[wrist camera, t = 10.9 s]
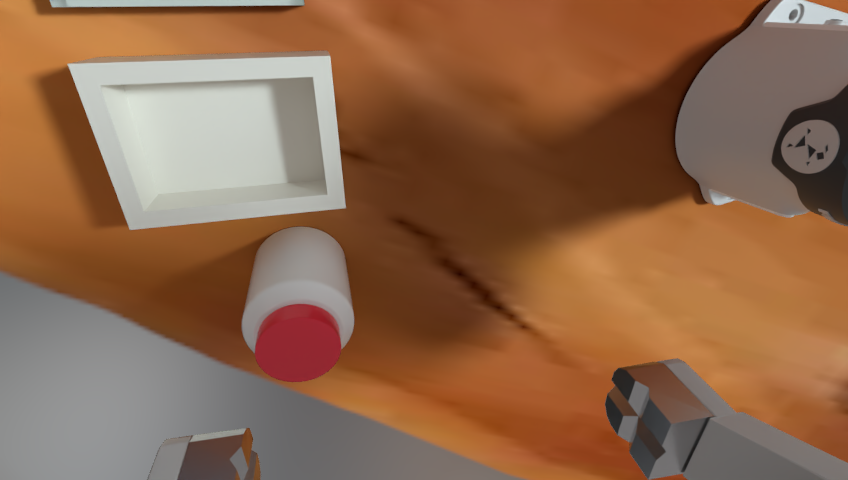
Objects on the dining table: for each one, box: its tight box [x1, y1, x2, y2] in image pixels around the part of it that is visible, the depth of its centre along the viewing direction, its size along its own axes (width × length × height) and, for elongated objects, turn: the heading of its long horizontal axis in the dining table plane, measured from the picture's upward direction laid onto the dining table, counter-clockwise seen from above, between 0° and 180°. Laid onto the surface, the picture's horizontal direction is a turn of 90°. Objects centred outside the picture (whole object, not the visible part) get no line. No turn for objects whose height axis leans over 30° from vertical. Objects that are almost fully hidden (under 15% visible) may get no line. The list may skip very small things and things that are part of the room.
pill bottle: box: [242, 226, 355, 382], centre depth 33 cm, size 8×8×11 cm
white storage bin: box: [68, 51, 346, 230], centre depth 30 cm, size 14×10×4 cm
